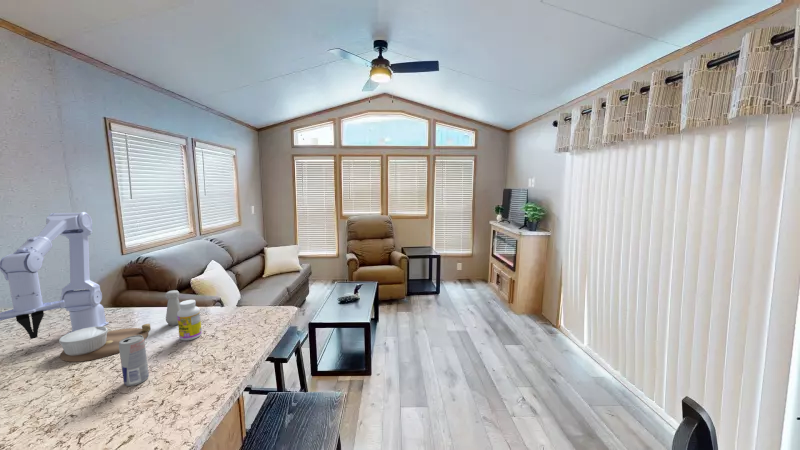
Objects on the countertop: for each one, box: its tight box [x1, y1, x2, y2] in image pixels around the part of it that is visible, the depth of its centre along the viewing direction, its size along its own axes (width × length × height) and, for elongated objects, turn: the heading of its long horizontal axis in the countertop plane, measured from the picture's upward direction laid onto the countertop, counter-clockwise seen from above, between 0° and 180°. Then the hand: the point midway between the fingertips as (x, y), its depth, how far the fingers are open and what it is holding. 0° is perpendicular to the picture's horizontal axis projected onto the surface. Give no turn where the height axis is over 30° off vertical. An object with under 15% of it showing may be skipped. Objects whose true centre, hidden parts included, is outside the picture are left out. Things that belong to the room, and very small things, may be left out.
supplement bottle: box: [177, 299, 203, 342], centre depth 112 cm, size 7×7×13 cm
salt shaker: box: [165, 289, 181, 327], centre depth 123 cm, size 6×6×13 cm
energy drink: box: [119, 335, 150, 387], centre depth 87 cm, size 5×5×12 cm
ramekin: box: [58, 326, 109, 356], centre depth 104 cm, size 11×11×5 cm
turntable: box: [59, 323, 151, 363], centre depth 108 cm, size 22×22×2 cm
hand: (33, 337), depth 95 cm, fingers closed
